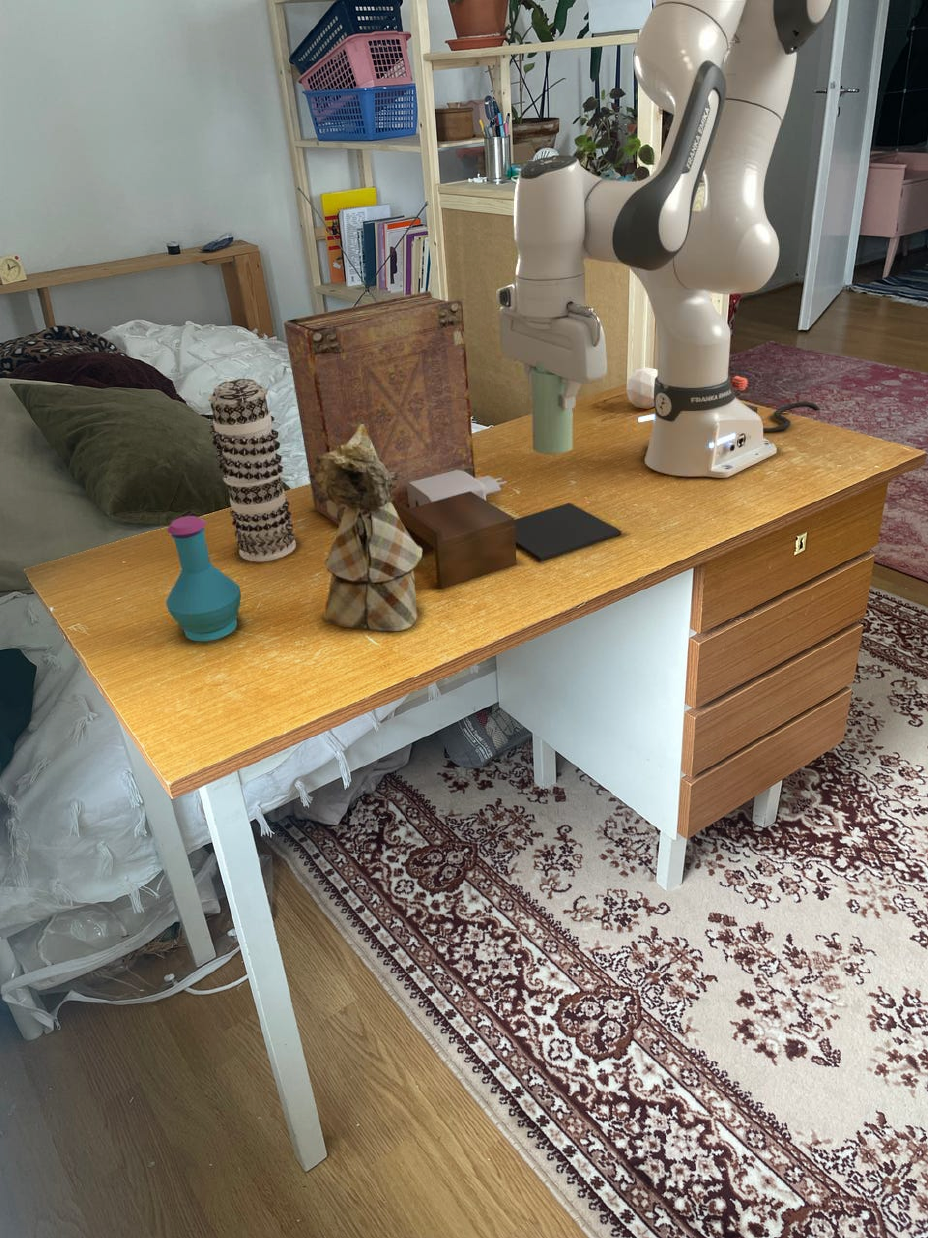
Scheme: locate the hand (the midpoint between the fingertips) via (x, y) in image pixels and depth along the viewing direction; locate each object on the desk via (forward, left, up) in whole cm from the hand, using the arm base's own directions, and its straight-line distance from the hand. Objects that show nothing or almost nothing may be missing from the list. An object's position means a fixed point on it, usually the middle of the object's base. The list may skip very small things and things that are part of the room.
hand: (552, 401), depth 128 cm
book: (+13, -27, -20) cm, 36 cm away
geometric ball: (-46, -36, -20) cm, 62 cm away
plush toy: (+31, +6, -20) cm, 37 cm away
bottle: (0, 0, -7) cm, 6 cm away
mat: (0, 0, -20) cm, 20 cm away
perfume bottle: (+51, -4, -20) cm, 55 cm away
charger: (+6, -17, -20) cm, 27 cm away
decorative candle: (+37, -22, -20) cm, 47 cm away
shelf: (+16, -1, -20) cm, 25 cm away
